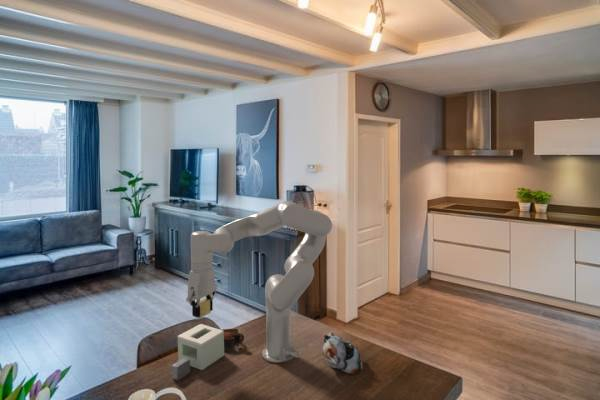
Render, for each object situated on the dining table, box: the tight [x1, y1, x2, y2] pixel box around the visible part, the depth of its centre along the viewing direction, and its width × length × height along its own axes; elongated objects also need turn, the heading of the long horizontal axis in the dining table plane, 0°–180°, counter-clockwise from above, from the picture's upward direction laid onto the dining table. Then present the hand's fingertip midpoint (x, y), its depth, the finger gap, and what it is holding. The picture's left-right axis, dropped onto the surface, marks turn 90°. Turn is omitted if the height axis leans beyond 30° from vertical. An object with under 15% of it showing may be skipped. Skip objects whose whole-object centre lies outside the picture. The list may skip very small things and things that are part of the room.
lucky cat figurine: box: [322, 332, 364, 375], centre depth 140 cm, size 15×12×14 cm
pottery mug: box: [221, 328, 245, 351], centre depth 156 cm, size 12×10×8 cm
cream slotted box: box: [177, 323, 225, 371], centre depth 146 cm, size 12×12×10 cm
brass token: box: [196, 297, 212, 319], centre depth 140 cm, size 2×6×5 cm, turn 153°
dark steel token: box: [171, 358, 191, 381], centre depth 135 cm, size 2×6×5 cm, turn 150°
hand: (202, 312), depth 140 cm, fingers closed on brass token, 5 cm apart
